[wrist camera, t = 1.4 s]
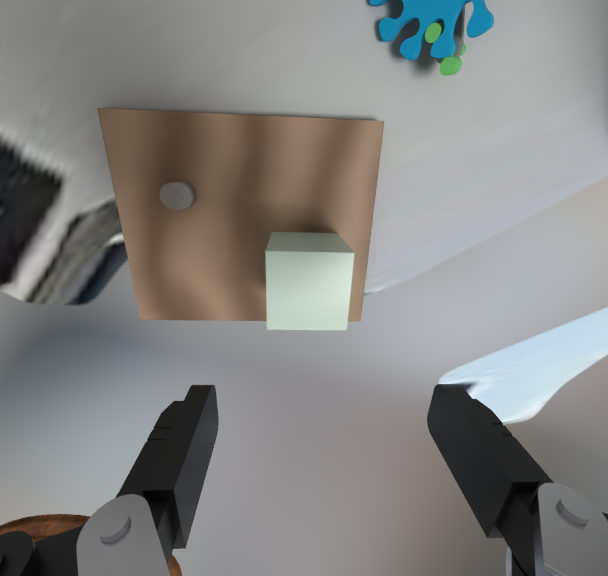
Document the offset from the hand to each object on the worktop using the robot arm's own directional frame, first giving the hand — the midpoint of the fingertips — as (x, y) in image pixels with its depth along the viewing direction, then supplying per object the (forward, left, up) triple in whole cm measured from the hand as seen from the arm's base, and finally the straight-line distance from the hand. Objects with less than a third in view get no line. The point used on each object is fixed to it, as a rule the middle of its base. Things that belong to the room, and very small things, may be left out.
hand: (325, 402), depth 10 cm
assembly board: (+5, -3, -19) cm, 20 cm away
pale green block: (0, 0, -18) cm, 18 cm away
